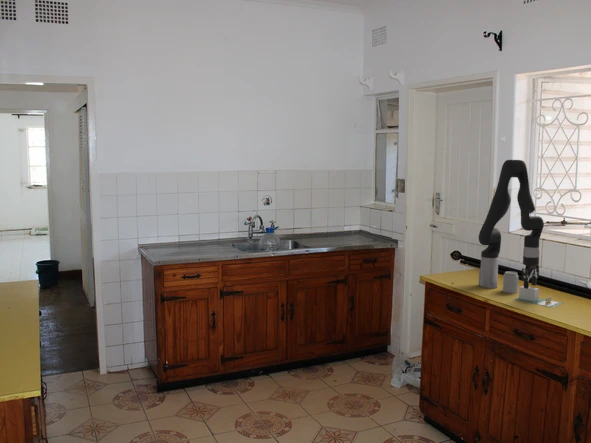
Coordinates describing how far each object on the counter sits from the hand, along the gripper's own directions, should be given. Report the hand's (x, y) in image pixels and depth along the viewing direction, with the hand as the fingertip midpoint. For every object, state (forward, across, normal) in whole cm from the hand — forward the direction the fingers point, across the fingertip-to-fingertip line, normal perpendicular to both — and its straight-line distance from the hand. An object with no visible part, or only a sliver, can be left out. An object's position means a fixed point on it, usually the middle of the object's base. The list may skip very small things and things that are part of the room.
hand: (529, 286), depth 282 cm
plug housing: (+7, 0, 0) cm, 7 cm away
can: (+8, -8, -14) cm, 18 cm away
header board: (+8, 0, +4) cm, 9 cm away
